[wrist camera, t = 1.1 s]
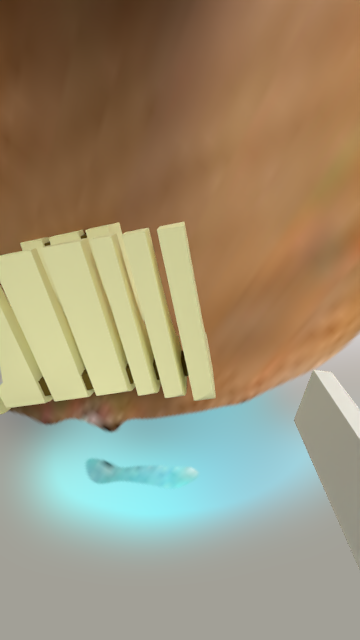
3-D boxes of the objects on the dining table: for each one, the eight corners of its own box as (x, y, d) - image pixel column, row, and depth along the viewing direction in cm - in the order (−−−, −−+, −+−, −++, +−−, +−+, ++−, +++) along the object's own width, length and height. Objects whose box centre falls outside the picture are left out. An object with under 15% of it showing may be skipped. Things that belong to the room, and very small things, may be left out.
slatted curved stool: (11, 358, 45) (-91, 455, 29) (-40, 254, 39) (-207, 303, 22) (207, 327, 42) (218, 416, 25) (186, 208, 35) (183, 226, 19)
